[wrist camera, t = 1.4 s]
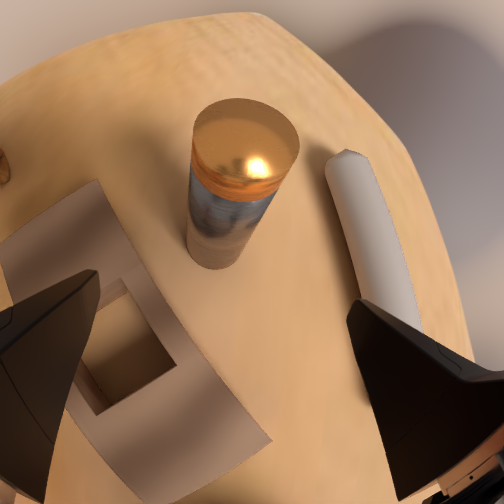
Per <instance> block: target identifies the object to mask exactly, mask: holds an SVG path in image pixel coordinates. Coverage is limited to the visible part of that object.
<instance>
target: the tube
mask: <svg viewBox="0 0 504 504" xmlns="http://www.w3.org/2000/svg"><path fill="white" fill-rule="evenodd" d="M324 174H325V177H326V180H327V183H328V185H329V188H330V191H331V194H332V197H333V200H334V203H335V206H336V209H337V212H338V215H339V218H340V222H341V225H342V228H343V231H344V235H345V238H346V241H347V245H348V248H349V252H350V255H351V259H352V262H353V266H354V269H355V273H356V277H357V281H358V285H359V289H360V293H361V297H362V299H366V300H368V301H370V302H371V303H373V304H375V305H376V306H378V307H380V308H381V309H383V310H385V311H386V312H388V313H390V314H392V315H393V316H395V317H397V318H398V319H400V320H402V321H403V322H405V323H407V324H408V325H410V326H412V327H413V328H415V329H417V330H418V331H420V332H422V333H423V328H422V323H421V318H420V314H419V309H418V305H417V301H416V297H415V293H414V289H413V285H412V281H411V277H410V274H409V270H408V267H407V263H406V260H405V257H404V253H403V250H402V247H401V244H400V241H399V238H398V235H397V232H396V229H395V226H394V223H393V220H392V217H391V215H390V212H389V209H388V207H387V204H386V201H385V199H384V196H383V194H382V191H381V189H380V186H379V184H378V181H377V179H376V176H375V174H374V172H373V169H372V167H371V165H370V163H369V160H368V158H367V157H365V156H364V155H362V154H360V153H357V152H354V151H351V150H348V149H345V150H343V151H341V152H340V153H338V154H336V155H335V156H333V157H332V158H330V159H329V160H328V161H327V162H326V165H325V172H324ZM423 334H424V333H423Z"/></svg>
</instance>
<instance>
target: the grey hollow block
mask: <svg viewBox="0 0 504 504" xmlns="http://www.w3.org/2000/svg"><path fill="white" fill-rule="evenodd" d="M0 262H1V266H2V269H3V273H4V276H5V279H6V283H7V286H8V289H9V292H10V295H11V298H12V300H13V303H14V305H15V304H16V303H18V302H20V301H22V300H24V299H26V298H28V297H30V296H32V295H34V294H36V293H38V292H40V291H42V290H44V289H46V288H48V287H50V286H52V285H54V284H56V283H58V282H60V281H62V280H64V279H67V278H69V277H71V276H73V275H75V274H77V273H79V272H81V271H83V270H86V269H91V270H97V271H98V273H99V279H100V290H101V295H100V300H99V304H98V307H97V310H96V312H97V311H99V310H100V309H102V308H103V307H105V306H106V305H108V304H109V303H111V302H112V301H114V300H115V299H117V298H119V297H120V296H122V295H123V294H125V293H126V292H128V291H129V292H130V294H131V296H132V297H133V299H134V301H135V302H136V304H137V306H138V307H139V309H140V310H141V312H142V314H143V315H144V317H145V318H146V320H147V322H148V323H149V325H150V326H151V328H152V329H153V331H154V332H155V334H156V335H157V337H158V339H159V340H160V341H161V343H162V344H163V346H164V347H165V349H166V350H167V352H168V353H169V355H170V356H171V357H172V359H173V360H174V362H175V363H176V365H174V366H173V367H171V368H170V369H168V370H167V371H165V372H164V373H162V374H161V375H159V376H158V377H156V378H154V379H153V380H151V381H150V382H148V383H147V384H145V385H143V386H142V387H140V388H139V389H137V390H135V391H134V392H132V393H131V394H129V395H127V396H126V397H124V398H123V399H121V400H119V401H118V402H116V403H114V404H113V405H110V403H109V402H108V400H107V399H106V397H105V396H104V395H103V393H102V392H101V390H100V389H99V387H98V385H97V384H96V382H95V381H94V379H93V378H92V376H91V374H90V373H89V371H88V370H87V368H86V366H85V365H84V363H83V361H82V359H80V362H79V365H78V368H77V370H76V373H75V376H74V379H73V382H72V385H71V388H70V391H69V395H68V398H67V401H66V404H65V408H66V409H67V411H68V413H69V414H70V416H71V417H72V418H73V420H74V421H75V423H76V424H77V426H78V427H79V429H80V430H81V431H82V433H83V434H84V435H85V437H86V438H87V439H88V441H89V442H90V443H91V445H92V446H93V447H94V449H95V450H96V451H97V452H98V454H99V455H100V456H101V457H102V458H103V460H104V461H105V462H106V463H107V464H108V466H109V467H110V468H111V469H112V470H113V471H114V472H115V473H116V475H117V476H118V477H119V478H120V479H121V480H122V481H123V482H124V483H125V484H126V485H127V486H128V487H129V488H130V489H131V490H132V491H133V492H134V493H135V494H136V495H137V496H138V497H139V498H140V499H141V500H142V501H143V502H144V503H145V504H172V503H174V502H176V501H178V500H180V499H182V498H184V497H186V496H187V495H189V494H191V493H193V492H195V491H197V490H198V489H200V488H202V487H204V486H205V485H207V484H209V483H211V482H212V481H214V480H216V479H217V478H219V477H221V476H222V475H224V474H225V473H227V472H229V471H230V470H232V469H233V468H235V467H236V466H238V465H239V464H241V463H242V462H244V461H245V460H247V459H248V458H250V457H251V456H253V455H254V454H255V453H257V452H258V451H260V450H261V449H262V448H264V447H265V446H267V445H268V444H269V443H271V442H272V441H273V440H272V439H271V438H270V437H269V436H268V435H267V434H266V433H265V432H264V430H263V429H262V428H261V427H260V426H259V425H258V424H257V422H256V421H255V420H254V419H253V418H252V417H251V415H250V414H249V413H248V412H247V411H246V409H245V408H244V407H243V406H242V405H241V403H240V402H239V401H238V400H237V398H236V397H235V396H234V395H233V393H232V392H231V391H230V390H229V388H228V387H227V386H226V385H225V383H224V382H223V381H222V379H221V378H220V377H219V376H218V374H217V373H216V372H215V370H214V369H213V368H212V366H211V365H210V364H209V362H208V361H207V360H206V358H205V357H204V356H203V354H202V353H201V351H200V350H199V349H198V347H197V346H196V344H195V343H194V342H193V340H192V339H191V337H190V336H189V335H188V333H187V332H186V330H185V329H184V327H183V326H182V324H181V323H180V321H179V320H178V318H177V317H176V316H175V314H174V313H173V311H172V309H171V308H170V306H169V305H168V303H167V302H166V300H165V299H164V297H163V296H162V294H161V292H160V291H159V289H158V288H157V286H156V285H155V283H154V281H153V280H152V278H151V276H150V275H149V273H148V272H147V270H146V268H145V267H144V265H143V263H142V261H141V260H140V258H139V256H138V255H137V253H136V251H135V249H134V248H133V246H132V244H131V242H130V241H129V239H128V237H127V235H126V233H125V232H124V230H123V228H122V226H121V224H120V222H119V221H118V219H117V217H116V215H115V213H114V211H113V209H112V207H111V205H110V203H109V202H108V200H107V198H106V196H105V194H104V192H103V190H102V188H101V185H100V183H99V181H98V179H95V180H93V181H92V182H90V183H88V184H87V185H85V186H83V187H81V188H80V189H78V190H76V191H75V192H73V193H72V194H70V195H68V196H67V197H65V198H64V199H62V200H60V201H59V202H57V203H56V204H54V205H53V206H51V207H50V208H48V209H47V210H45V211H44V212H42V213H41V214H39V215H38V216H36V217H35V218H34V219H32V220H31V221H29V222H28V223H27V224H25V225H24V226H23V227H21V228H20V229H18V230H17V231H16V232H14V233H13V234H12V235H11V236H9V237H8V238H7V239H5V240H4V241H3V242H2V243H0Z"/></svg>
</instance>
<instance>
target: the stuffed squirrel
mask: <svg viewBox="0 0 504 504" xmlns="http://www.w3.org/2000/svg"><path fill="white" fill-rule="evenodd" d="M9 178H10V170H9V166H8V163H7V160H6V157H5V155H4V152H3V151H2V150H1V149H0V184H3V183H6V182H7V181H8V179H9Z"/></svg>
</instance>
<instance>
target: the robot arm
mask: <svg viewBox="0 0 504 504" xmlns="http://www.w3.org/2000/svg"><path fill="white" fill-rule="evenodd" d="M100 295H101V290H100V279H99V273H98V271H97V270H91V269H86V270H83V271H81V272H79V273H77V274H75V275H73V276H71V277H69V278H67V279H64V280H62V281H60V282H58V283H56V284H54V285H52V286H50V287H48V288H46V289H44V290H42V291H40V292H38V293H36V294H34V295H32V296H30V297H28V298H26V299H24V300H22V301H20V302H18V303H16V304H15V305H13V307H12V306H11V307H9V308H7V309H5V310H3V311H1V312H0V504H14V502H15V497H16V492H17V493H19V494H21V495H23V496H25V497H27V498H29V499H31V500H33V501H36V502H38V503H40V504H44V500H45V493H46V487H47V481H48V475H49V470H50V465H51V460H52V455H53V451H54V445H55V441H56V437H57V433H58V429H59V426H60V422H61V418H62V415H63V411H64V408H65V404H66V401H67V398H68V395H69V391H70V388H71V385H72V382H73V379H74V376H75V373H76V370H77V368H78V365H79V362H80V359H81V357H82V354H83V351H84V349H85V346H86V343H87V341H88V338H89V335H90V332H91V328H92V325H93V321H94V317H95V314H96V310H97V307H98V304H99V300H100ZM346 322H347V326H348V330H349V334H350V338H351V343H352V347H353V351H354V355H355V358H356V361H357V364H358V367H359V370H360V373H361V375H362V378H363V381H364V384H365V387H366V390H367V393H368V397H369V400H370V403H371V406H372V409H373V412H374V415H375V419H376V422H377V425H378V429H379V432H380V435H381V439H382V442H383V446H384V449H385V452H386V457H387V461H388V464H389V468H390V472H391V476H392V480H393V484H394V488H395V492H396V496H397V499H398V501H402V500H404V499H406V498H409V497H411V496H413V495H415V494H417V493H419V492H421V491H423V490H425V489H427V488H429V487H431V486H433V485H435V484H437V483H438V484H439V486H440V489H441V491H439V492H437V493H436V494H434V495H432V496H430V497H429V498H427V499H425V500H424V501H423V502H422V504H504V371H490V370H487V369H485V368H483V367H481V366H479V365H477V364H475V363H473V362H472V361H470V360H468V359H466V358H464V357H462V356H460V355H459V354H457V353H455V352H453V351H452V350H450V349H448V348H447V347H445V346H443V345H441V344H440V343H438V342H435V340H433V339H432V338H430V337H428V336H427V335H425V334H423V333H422V332H420V331H418V330H417V329H415V328H413V327H412V326H410V325H408V324H407V323H405V322H403V321H402V320H400V319H398V318H397V317H395V316H393V315H392V314H390V313H388V312H386V311H385V310H383V309H381V308H380V307H378V306H376V305H375V304H373V303H371V302H370V301H368V300H366V299H355V300H354V302H353V304H352V306H351V308H350V311H349V313H348V315H347V319H346Z"/></svg>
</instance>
